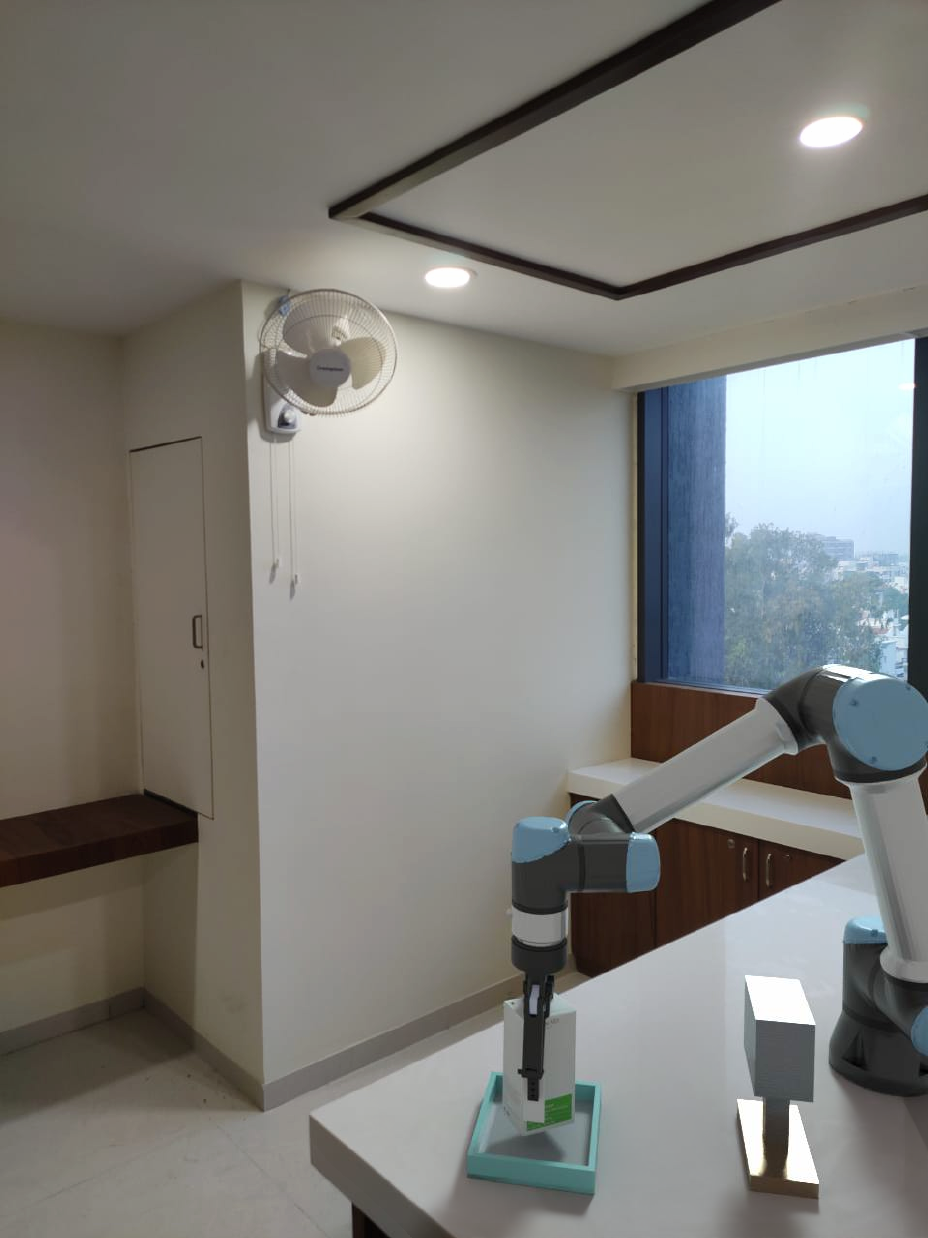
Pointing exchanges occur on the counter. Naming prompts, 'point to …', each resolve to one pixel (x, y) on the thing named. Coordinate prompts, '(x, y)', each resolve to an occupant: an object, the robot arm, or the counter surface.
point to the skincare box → (555, 1066)
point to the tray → (537, 1144)
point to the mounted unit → (778, 1087)
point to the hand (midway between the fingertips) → (538, 1096)
